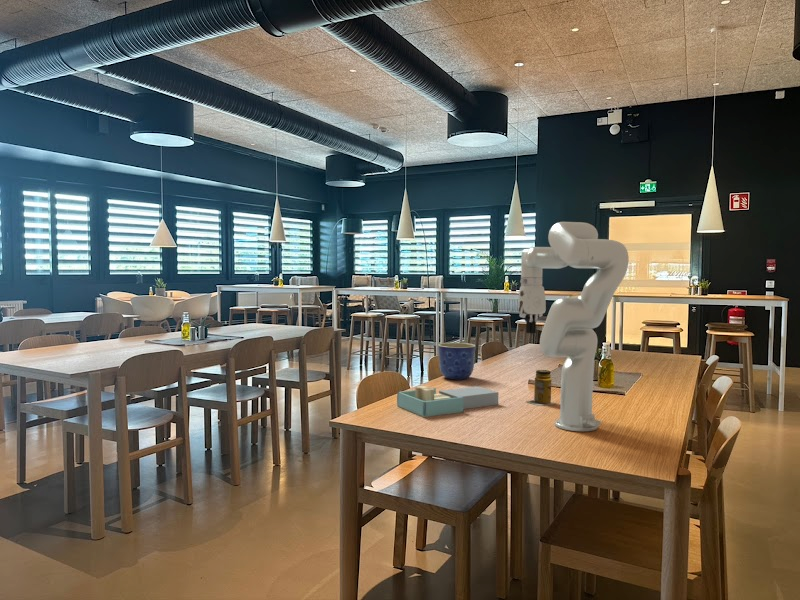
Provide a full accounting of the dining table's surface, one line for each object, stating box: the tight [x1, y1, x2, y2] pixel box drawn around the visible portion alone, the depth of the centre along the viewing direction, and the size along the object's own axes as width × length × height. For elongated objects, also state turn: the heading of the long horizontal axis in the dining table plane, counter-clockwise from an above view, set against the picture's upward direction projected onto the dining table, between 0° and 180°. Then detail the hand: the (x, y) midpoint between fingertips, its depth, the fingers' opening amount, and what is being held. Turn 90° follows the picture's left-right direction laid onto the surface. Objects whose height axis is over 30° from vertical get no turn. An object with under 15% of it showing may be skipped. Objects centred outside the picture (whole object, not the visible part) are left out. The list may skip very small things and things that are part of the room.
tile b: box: [414, 385, 434, 401], centre depth 197 cm, size 7×7×4 cm
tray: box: [396, 387, 464, 418], centre depth 198 cm, size 18×16×5 cm
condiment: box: [525, 369, 555, 406], centre depth 210 cm, size 7×8×12 cm
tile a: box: [434, 393, 451, 400], centre depth 200 cm, size 7×7×4 cm
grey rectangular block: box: [438, 386, 499, 410], centre depth 207 cm, size 12×18×4 cm, turn 120°
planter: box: [437, 342, 476, 381], centre depth 258 cm, size 17×17×15 cm
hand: (530, 332), depth 206 cm, fingers closed
